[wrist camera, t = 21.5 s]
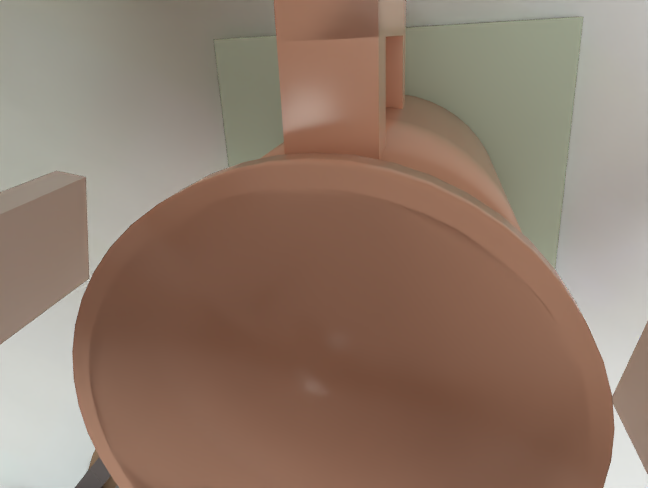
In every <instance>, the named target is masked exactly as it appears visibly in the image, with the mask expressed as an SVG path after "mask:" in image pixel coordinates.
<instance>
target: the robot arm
mask: <svg viewBox="0 0 648 488" xmlns="http://www.w3.org/2000/svg"><path fill="white" fill-rule="evenodd" d="M88 279H89V257H88V228H87V200H86V177H84V176H79V175H74V174H69V173H65V172H60V171H54V172H52V173H49V174H46V175H44V176H41V177H39V178H36V179H33V180H31V181H28V182H26V183H23V184H20V185H18V186H15V187H13V188H10V189H8V190H5V191H2V192H0V344H2V343H3V342H4V341H6V340H7V339H8V338H10V337H11V336H12V335H14V334H15V333H16V332H18V331H19V330H20V329H22V328H23V327H24V326H26V325H27V324H29V323H30V322H31V321H33V320H34V319H35V318H37V317H38V316H39V315H41V314H42V313H43V312H45V311H46V310H47V309H49V308H50V307H51V306H53V305H54V304H55V303H57V302H58V301H60V300H61V299H62V298H64V297H65V296H66V295H68V294H69V293H70V292H72V291H73V290H74V289H76V288H77V287H78V286H80V285H81V284H82V283H84V282H85V281H87V280H88ZM612 403H613V405H614V407H615V409H616V411H617V413H618V415H619V417H620V419H621V421H622V423H623V425H624V427H625V429H626V431H627V433H628V435H629V437H630V439H631V441H632V443H633V445H634V447H635V449H636V451H637V454H638V456H639V458H640V460H641V462H642V464H643V466H644V468H645V470H646V472H647V474H648V322H647V324H646V326H645V328H644V330H643V332H642V335H641V337H640V339H639V341H638V343H637V345H636V347H635V349H634V352H633V354H632V356H631V358H630V360H629V362H628V364H627V367H626V369H625V371H624V373H623V375H622V377H621V379H620V381H619V384H618V386H617V388H616V390H615V392H614V394H613V396H612Z"/></svg>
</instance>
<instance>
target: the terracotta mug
mask: <svg viewBox="0 0 648 488" xmlns="http://www.w3.org/2000/svg"><path fill="white" fill-rule="evenodd" d="M274 11H275V25H276V39H277V53H278V67H279V81H280V95H281V109H282V123H283V137H284V142H283V143H281V144H280V145H278V146H277V147H275V148H274V149H273V150H271V151H270V152H268V153H267V154H266V155H264V156H263V157H261V158H260V159H256V160H251V161H247V162H242V163H239V164H237V165H234V166H231V167H229V168H226V169H223V170H220V171H218V172H215V173H212V174H210V175H208V176H206V177H204V178H202V179H201V180H199V181H197V182H195V183H193V184H191V185H190V186H188V187H186V188H184V189H182V190H181V191H179V192H177V193H176V194H174V195H172V196H171V197H169V198H168V199H166V200H164V201H163V202H161V203H159V204H158V205H156V206H155V207H154V208H153V209H151V210H150V211H149V212H147V213H146V214H145V215H143V216H142V217H141V218H140V219H138V220H137V221H136V222H134V223H133V224H132V225H131V226H130V227H129V228H128V229H127V230H126V231H125V232H124V233H123V234H122V235H121V236H120V237H119V239H118V240H117V241H116V242H115V243H114V244H113V245H112V246H111V247H110V248H109V250H108V251H107V253H106V254H105V256H104V257H103V259H102V261H101V262H100V264H99V265H98V267H97V268H96V270H95V271H94V273H93V275H92V277H91V280H90V282H89V284H88V286H87V289H86V291H85V293H84V295H83V297H82V301H81V305H80V308H79V312H78V316H77V320H76V324H75V332H74V342H73V372H74V383H75V388H76V393H77V398H78V404H79V407H80V410H81V414H82V417H83V420H84V423H85V426H86V429H87V432H88V434H89V436H90V438H91V440H92V442H93V444H94V447H95V449H96V451H97V453H98V455H99V457H100V459H101V460H102V462H103V464H104V465H105V467H106V468H107V470H108V472H109V473H110V475H111V477H112V478H113V480H114V481H115V482H116V484H117V485H118V486H119V488H603V487H604V483H605V480H606V476H607V473H608V469H609V466H610V463H611V457H612V447H613V438H614V416H613V403H612V394H611V390H610V386H609V382H608V378H607V374H606V370H605V366H604V362H603V359H602V357H601V355H600V352H599V350H598V348H597V346H596V343H595V341H594V339H593V336H592V334H591V332H590V329H589V327H588V325H587V323H586V321H585V319H584V318H583V316H582V314H581V312H580V310H579V308H578V306H577V304H576V302H575V300H574V298H573V297H572V295H571V294H570V292H569V290H568V289H567V287H566V286H565V284H564V283H563V281H562V279H561V278H560V276H559V275H558V273H557V272H556V270H555V269H554V267H553V266H552V265H551V264H550V263H549V262H548V260H547V259H546V258H545V257H544V256H543V255H542V253H541V252H540V251H539V250H538V249H537V248H536V247H535V245H534V244H533V243H532V242H531V241H530V240H529V239H528V238H527V237H526V236H525V235H523V233H522V231H521V229H520V226H519V224H518V222H517V219H516V217H515V215H514V212H513V210H512V208H511V205H510V203H509V201H508V198H507V196H506V194H505V191H504V189H503V187H502V184H501V182H500V180H499V177H498V175H497V173H496V170H495V168H494V166H493V163H492V161H491V159H490V157H489V155H488V152H487V150H486V149H485V147H484V146H483V144H482V143H481V141H480V139H479V138H478V137H477V136H476V134H475V133H474V132H473V131H472V130H471V129H470V127H469V126H468V125H466V124H465V123H464V122H463V121H462V120H461V119H460V118H459V117H457V116H456V115H454V114H453V113H451V112H450V111H448V110H447V109H445V108H443V107H441V106H439V105H437V104H435V103H433V102H431V101H428V100H425V99H422V98H419V97H416V96H410V95H405V43H406V0H274Z"/></svg>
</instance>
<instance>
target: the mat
mask: <svg viewBox="0 0 648 488" xmlns="http://www.w3.org/2000/svg"><path fill="white" fill-rule="evenodd" d="M582 25H583V17H568V18H552V19H536V20H519V21H503V22H487V23H471V24H454V25H438V26H422V27H406V43H405V95H410V96H416V97H419V98H422V99H425V100H428V101H431V102H433V103H435V104H437V105H439V106H441V107H443V108H445V109H447V110H448V111H450V112H451V113H453V114H454V115H456V116H457V117H459V118H460V119H461V120H462V121H463V122H464V123H465V124H466V125H468V126H469V127H470V129H471V130H472V131H473V132H474V133H475V134H476V136H477V137H478V138H479V139H480V141H481V143H482V144H483V146H484V147H485V149H486V150H487V152H488V155H489V157H490V159H491V161H492V163H493V166H494V168H495V170H496V173H497V175H498V177H499V180H500V182H501V184H502V187H503V189H504V191H505V194H506V196H507V198H508V201H509V203H510V205H511V208H512V210H513V212H514V215H515V217H516V219H517V222H518V224H519V226H520V229H521V231H522V233H523V235H525V236H526V237H527V238H528V239H529V240H530V241H531V242H532V243H533V244H534V245H535V247H536V248H537V249H538V250H539V251H540V252H541V253H542V255H543V256H544V257H545V258H546V259H547V260H548V262H549V263H550V264H551V265H552V266H553V267H554V269H555V266H556V257H557V248H558V239H559V230H560V221H561V212H562V203H563V194H564V185H565V176H566V167H567V158H568V150H569V141H570V132H571V123H572V114H573V105H574V96H575V87H576V78H577V69H578V60H579V51H580V42H581V34H582ZM214 48H215V56H216V65H217V73H218V81H219V90H220V98H221V106H222V115H223V123H224V132H225V140H226V148H227V157H228V165H229V167H231V166H234V165H237V164H239V163H242V162H247V161H251V160H256V159H260V158H261V157H263V156H264V155H266V154H267V153H268V152H270V151H271V150H273V149H274V148H275V147H277V146H278V145H280V144H281V143H283V142H284V137H283V123H282V109H281V95H280V81H279V67H278V53H277V39H276V36H260V37H243V38H227V39H214Z"/></svg>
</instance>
